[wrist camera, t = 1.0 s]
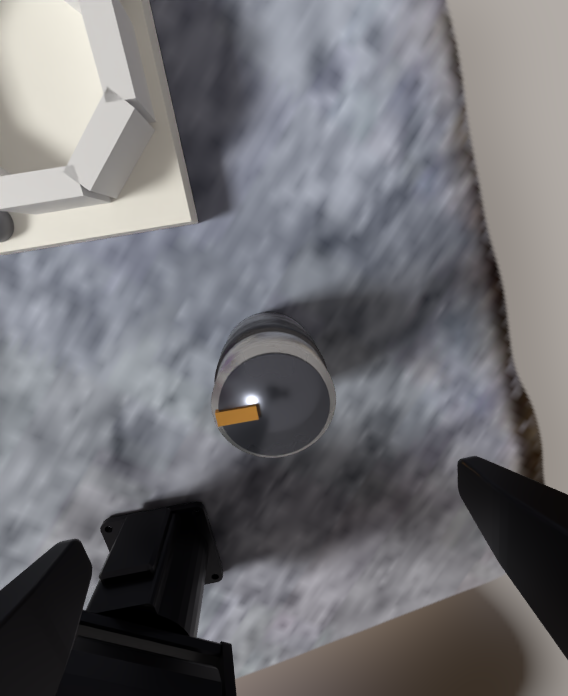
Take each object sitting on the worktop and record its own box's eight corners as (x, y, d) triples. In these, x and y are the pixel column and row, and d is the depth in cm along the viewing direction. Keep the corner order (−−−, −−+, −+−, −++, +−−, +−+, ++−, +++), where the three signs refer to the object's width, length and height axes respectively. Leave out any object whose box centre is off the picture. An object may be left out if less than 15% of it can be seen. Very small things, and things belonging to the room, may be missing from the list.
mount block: (198, 223, 17) (179, 218, 13) (5, 254, 17) (-80, 260, 12) (133, -70, 14) (78, -210, 9) (-111, -36, 13) (-283, -164, 9)
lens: (319, 388, 20) (346, 453, 14) (232, 404, 20) (223, 476, 14) (308, 303, 19) (333, 334, 13) (213, 319, 19) (192, 359, 12)
